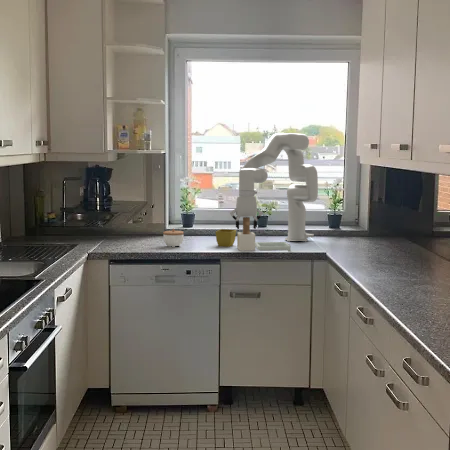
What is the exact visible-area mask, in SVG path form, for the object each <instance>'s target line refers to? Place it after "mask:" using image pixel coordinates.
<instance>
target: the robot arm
mask: <svg viewBox="0 0 450 450" xmlns="http://www.w3.org/2000/svg"><path fill="white" fill-rule="evenodd" d="M309 144H310V140H309V137H308V136H307V134H305V133H291V132H289V133H288V132H287V133H286V132H277V133H274V134H272V135H271V137H270V138H269V139H268V141H267V143H266V144H265V146H264V147H263V149H261V152H258V153H257V154H255V155H253V156H252V157H250V158H249V159H248V160H247V161H246V162H245V164H244V165H243V166H242V168H241V169H239V171H238V195H237V198H236V205H235V209H233V210H231V211H230V212H229V215H230V216H231V217H232V218H233V220H234V221H235V228H236V230H239V229H240V221H239V220H240V218H243V217H252V218H253V221H252V222H253V223H252V224H253V227H252V228H253V229H254V230H256V229H257V227H258V220H259V219H260V218H261V217H262V215H264V213H263V211H261V210H260V209H258V207H257V205H258V204H257V198H256V196H255V195H258V191H256V190H255V184H263V183H265V182H266V181H267V180H268V176H269V175H268V171H267V170H266V169H264V168H262V167H264V166H268V165H270V164H273V163H274V162H276V160H277V159H278V156H280V154H281V152H282V151H284V152H285V153H286V155H287V163H288V166H287V167H288V179H289V180H290V181H292V182H298V183H293V184H290V185H289V186H288V187H287V189H286V198H287V203H288V204H287V205H288V213H287V215H288V217H287V218H288V219H287V220H288V221H287V237H285V239H284V241H286V240H287V241H286V242H290V241H305V242H308V241H307V240H309V239H308V238H314V235H315V234H314V233H307V232H306V206H305V205H304V203H314V202H316V200H317V199H318V196H319V182H318V178H319V177H318V170H317V168H316V167H315V166H314V165H312V164H305V161H304V160H305V159H304V153H303V151H305V150H307V148H308V147H309ZM304 183H305V184H304ZM257 213H258V215H257ZM234 214H235V215H234Z"/></svg>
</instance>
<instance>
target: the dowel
mask: <svg viewBox="0 0 450 450" xmlns="http://www.w3.org/2000/svg"><path fill="white" fill-rule="evenodd" d="M250 219H251V216H247V217H242V232H243V234H250V232H251V231H250V227H251V224H250V223H251V220H250Z"/></svg>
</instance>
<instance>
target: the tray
mask: <svg viewBox="0 0 450 450" xmlns="http://www.w3.org/2000/svg"><path fill="white" fill-rule="evenodd" d="M255 249H257V250H258V251H282V250H283V251H288V252H289V251H291V249H292V248H291V245H290V244H289V243H287V241H263V242H262V241H259V242H258V241H255Z"/></svg>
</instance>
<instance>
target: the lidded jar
mask: <svg viewBox="0 0 450 450" xmlns="http://www.w3.org/2000/svg"><path fill="white" fill-rule="evenodd" d="M162 233H163V241H164V244H165V245H166V246H167V247H168V246H172V247H171V248H176V247H175V246H179V247H180V246H181V245H182V244H183V241H184V237H185V236H184V233H185V232H184V231H182V230H175V228H172V230H165V231H163V232H162Z"/></svg>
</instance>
